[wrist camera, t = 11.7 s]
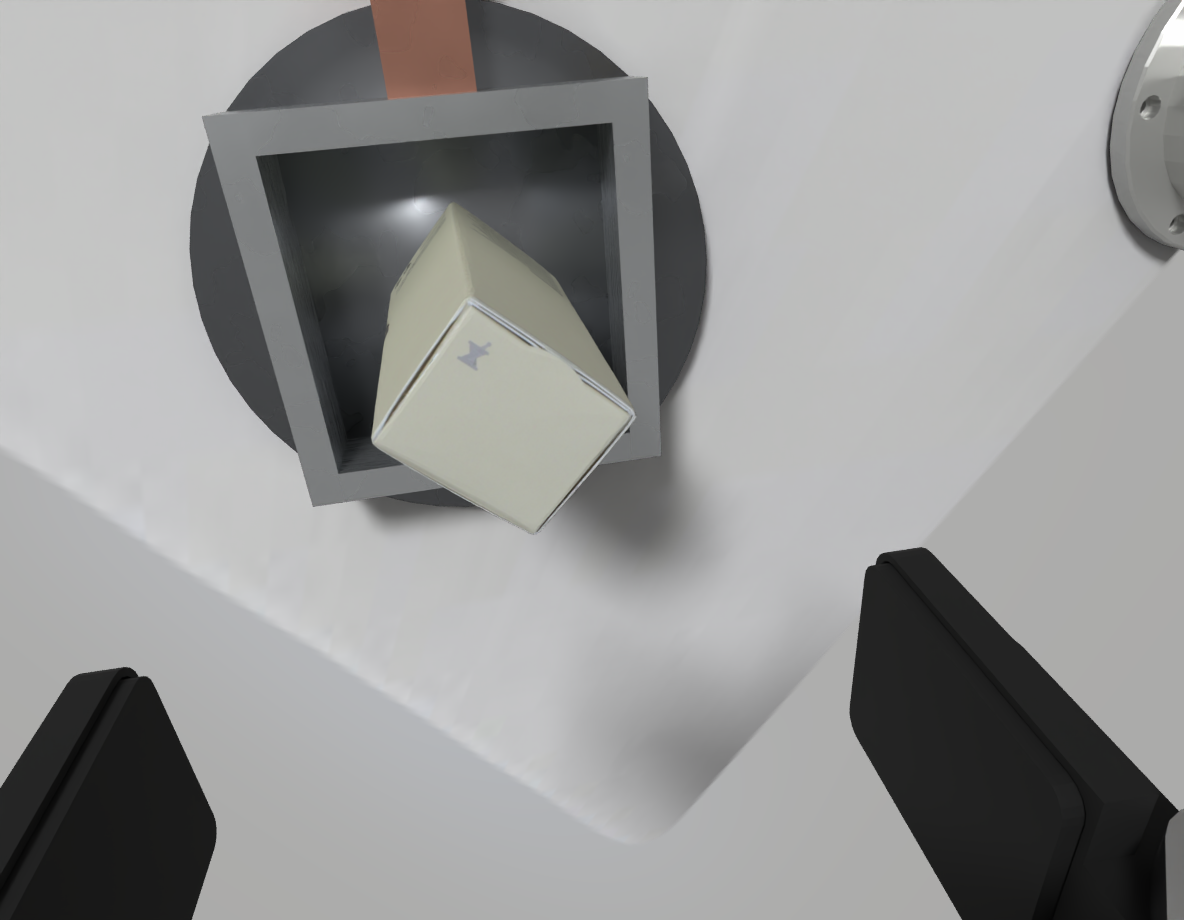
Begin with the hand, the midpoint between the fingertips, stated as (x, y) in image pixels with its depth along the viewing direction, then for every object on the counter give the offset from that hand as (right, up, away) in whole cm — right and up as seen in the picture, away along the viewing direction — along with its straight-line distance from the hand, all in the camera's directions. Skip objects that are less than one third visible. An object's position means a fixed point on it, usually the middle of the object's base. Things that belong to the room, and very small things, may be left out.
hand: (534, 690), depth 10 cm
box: (-4, +10, +19) cm, 22 cm away
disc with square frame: (-4, +12, +19) cm, 23 cm away
